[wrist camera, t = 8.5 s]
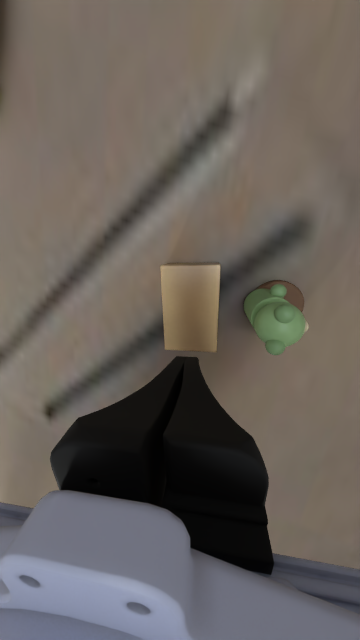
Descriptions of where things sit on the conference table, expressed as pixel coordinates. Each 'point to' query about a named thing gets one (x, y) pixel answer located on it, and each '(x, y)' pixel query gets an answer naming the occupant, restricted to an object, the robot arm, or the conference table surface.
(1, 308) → the conference table surface
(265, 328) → the green figurine on base
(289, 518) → the conference table surface
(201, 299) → the beech block
